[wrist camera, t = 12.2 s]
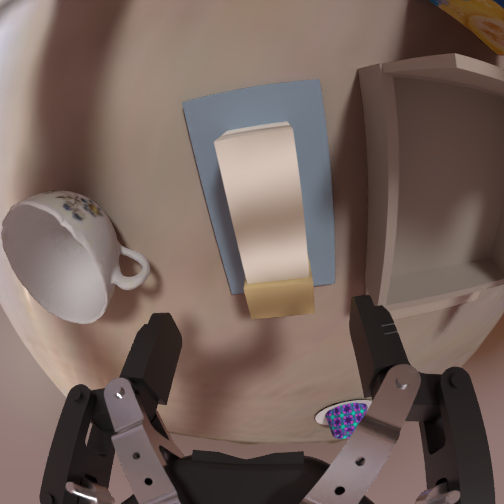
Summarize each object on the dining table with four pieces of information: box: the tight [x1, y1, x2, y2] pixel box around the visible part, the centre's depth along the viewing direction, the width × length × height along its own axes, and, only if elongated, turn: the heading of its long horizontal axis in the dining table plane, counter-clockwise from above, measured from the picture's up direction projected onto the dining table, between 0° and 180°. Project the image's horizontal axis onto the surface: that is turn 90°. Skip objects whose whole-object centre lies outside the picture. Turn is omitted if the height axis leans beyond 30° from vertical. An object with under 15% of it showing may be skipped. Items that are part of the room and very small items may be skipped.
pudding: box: [315, 400, 372, 439], centre depth 40 cm, size 12×12×5 cm
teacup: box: [1, 190, 150, 324], centre depth 21 cm, size 15×12×8 cm
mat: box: [182, 79, 335, 294], centre depth 22 cm, size 10×18×1 cm, turn 10°
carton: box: [358, 53, 504, 319], centre depth 16 cm, size 18×26×12 cm
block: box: [214, 121, 315, 319], centre depth 19 cm, size 13×5×6 cm, turn 10°
